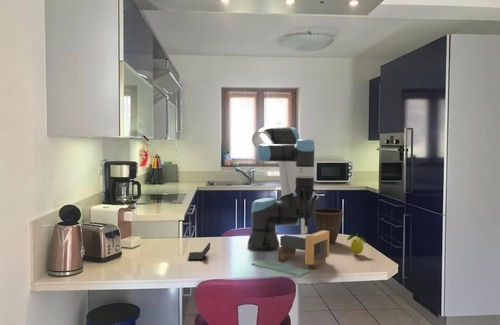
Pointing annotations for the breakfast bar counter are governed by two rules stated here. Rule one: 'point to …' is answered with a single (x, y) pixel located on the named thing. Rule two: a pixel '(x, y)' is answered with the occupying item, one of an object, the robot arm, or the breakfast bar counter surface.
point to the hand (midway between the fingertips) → (304, 233)
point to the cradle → (290, 253)
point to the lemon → (356, 244)
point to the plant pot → (328, 222)
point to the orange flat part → (313, 240)
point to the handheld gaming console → (198, 254)
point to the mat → (281, 267)
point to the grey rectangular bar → (300, 243)
